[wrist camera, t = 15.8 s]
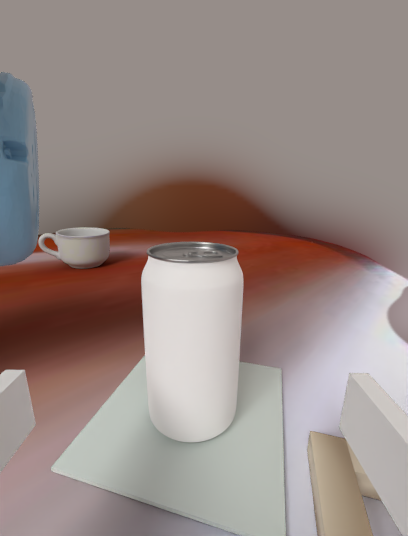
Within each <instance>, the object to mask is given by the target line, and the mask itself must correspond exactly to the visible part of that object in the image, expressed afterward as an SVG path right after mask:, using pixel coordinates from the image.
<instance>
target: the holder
mask: <svg viewBox="0 0 408 536" xmlns="http://www.w3.org/2000/svg"><path fill="white" fill-rule="evenodd" d="M307 452H308V460H309V468H310V476H311V485H312V493H313V501H314V510H315V518H316V526H317V534H318V536H373V534H372V530H371V527H370V523H369V520H368V516H367V513H366V509H365V506H364V502H363V499H362V495H363V496H366V497H370V498H374V499H378V500H381V498H380V497H379V495H378V493H377V492H376V490H375V488H374V486H373V485H372V483H371V481H370V480H369V478H368V476H367V474H366V473H365V471H364V469H363V468H362V466H361V464H360V463H359V461H358V459H357V457H356V456H355V454H354V452H353V451H352V449H351V447H350V445H349V444H348V442H347V440H346V439H344V438H340V437H336V436H331V435H327V434H322V433H318V432H313V431H310V435H309V441H308V448H307ZM381 501H382V500H381Z"/></svg>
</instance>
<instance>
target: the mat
mask: <svg viewBox="0 0 408 536" xmlns="http://www.w3.org/2000/svg"><path fill="white" fill-rule="evenodd" d="M51 470H52V472H55V473H58V474H61V475H64V476H67V477H70V478H73V479H76V480H79V481H82V482H85V483H88V484H91V485H93V486H96V487H99V488H102V489H105V490H108V491H111V492H114V493H117V494H120V495H123V496H126V497H129V498H132V499H135V500H137V501H140V502H143V503H146V504H149V505H152V506H155V507H158V508H161V509H164V510H167V511H170V512H173V513H176V514H179V515H182V516H184V517H187V518H190V519H193V520H196V521H199V522H202V523H205V524H208V525H211V526H214V527H217V528H220V529H223V530H226V531H229V532H231V533H234V534H237V535H240V536H286V525H285V488H284V450H283V412H282V375H281V368H275V367H269V366H263V365H258V364H252V363H246V362H240V361H239V374H238V391H237V405H236V413H235V416H234V419H233V421H232V422H231V424H230V425H229V427H228V428H227V429H226V430H225V431H223V432H222V433H221V434H219V435H218V436H216V437H214V438H212V439H210V440H207V441H204V442H199V443H183V442H179V441H176V440H173V439H171V438H169V437H167V436H165V435H163V434H162V433H161V432H160V431H158V430H157V429H156V427H155V426H154V425H153V423H152V421H151V419H150V415H149V407H148V393H147V377H146V360H145V355H144V357H143V358H142V359H141V360H140V361H139V363H138V364H137V365H136V366H135V367H134V369H133V370H132V371H131V372H130V373H129V375H128V376H127V377H126V378H125V379H124V381H123V382H122V383H121V384H120V385H119V387H118V388H117V389H116V390H115V391H114V393H113V394H112V395H111V396H110V397H109V399H108V400H107V401H106V402H105V403H104V405H103V406H102V407H101V408H100V409H99V411H98V412H97V413H96V414H95V415H94V417H93V418H92V419H91V420H90V421H89V423H88V424H87V425H86V426H85V427H84V428H83V430H82V431H81V432H80V433H79V434H78V436H77V437H76V438H75V439H74V440H73V442H72V443H71V444H70V445H69V446H68V448H67V449H66V450H65V451H64V452H63V454H62V455H61V456H60V457H59V458H58V460H57V461H56V462H55V463H54V464H53V466H52V467H51Z"/></svg>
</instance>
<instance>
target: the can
mask: <svg viewBox="0 0 408 536" xmlns="http://www.w3.org/2000/svg"><path fill="white" fill-rule="evenodd" d="M147 254H148V255H149V256H148V261H147V263H146V265H145V268H144V270H143V273H142V279H141V284H142V307H143V325H144V343H145V360H146V377H147V393H148V407H149V415H150V419H151V421H152V423H153V425H154V426H155V427H156V429H157V430H158V431H160V432H161V433H162V434H163V435H165V436H167V437H169V438H171V439H173V440H176V441H179V442H183V443H199V442H204V441H207V440H210V439H212V438H214V437H216V436H218V435H219V434H221V433H222V432H223V431H225V430H226V429H227V428H228V427H229V425H230V424H231V422H232V421H233V419H234V416H235V413H236V405H237V391H238V374H239V357H240V340H241V322H242V303H243V273H242V270H241V268H240V266H239V263H238V261H237V255H238V250H237V249H236V248H234V247H231V246H228V245H223V244H217V243H208V242H176V243H166V244H160V245H156V246H153V247H151V248H149V249H148V250H147Z"/></svg>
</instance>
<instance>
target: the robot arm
mask: <svg viewBox="0 0 408 536" xmlns="http://www.w3.org/2000/svg"><path fill="white" fill-rule="evenodd" d="M38 229H39V173H38V148H37V132H36V121H35V112H34V108H33V102H32V92H31V89H30V88H29V86H28V85H27V84H26V83H25V82H24V81H22V80H20V79H17V78H15V77H14V76H12V75H11V74H10V73H4V72H1V73H0V266H6V265H13V264H16V263H18V262H21V261H23V260H25V259H26V258H27V257H28V256H30V255H31V254H32V253H33V251H34V249H35V247H36V245H37V239H38ZM35 425H36V423H35V418H34V413H33V408H32V403H31V398H30V393H29V388H28V383H27V378H26V374H25V370H5V371H4V372H3V373H1V374H0V473H1V471H2V470H3V469H4V467H5V466H6V465H7V463H8V462H9V460H10V459H11V458H12V456H13V455H14V454H15V452H16V451H17V450H18V448H19V447H20V446H21V444H22V443H23V441H24V440H25V439H26V437H27V436H28V435H29V433H30V432H31V431H32V429H33V428H34V426H35ZM339 428H340V430H341V432H342V433H343V435H344V437H345V439H346V440H347V442H348V444H349V445H350V447H351V449H352V451H353V452H354V454H355V456H356V457H357V459H358V461H359V463H360V464H361V466H362V468H363V469H364V471H365V473H366V474H367V476H368V478H369V480H370V481H371V483H372V485H373V486H374V488H375V490H376V492H377V493H378V495H379V497H380V498H381V500H382V502H383V504H384V505H385V507H386V509H387V510H388V512H389V514H390V516H391V517H392V519H393V521H394V522H395V524H396V526H397V528H398V529H399V531H400V533H401V534H402V536H408V416H407V415H406V414H405V413H404V411H403V410H402V409H401V408H400V407H399V406H398V405H397V404H396V403H395V402H394V401H393V400H392V399H391V397H390V396H389V395H388V394H387V393H386V392H385V391H384V390H383V389H382V388H381V387H380V386H379V384H378V383H377V382H376V381H375V380H374V379H373V378H372V377H371V376H370V375H369V374H368V373H349V378H348V383H347V388H346V393H345V399H344V404H343V409H342V414H341V420H340V425H339Z"/></svg>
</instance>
